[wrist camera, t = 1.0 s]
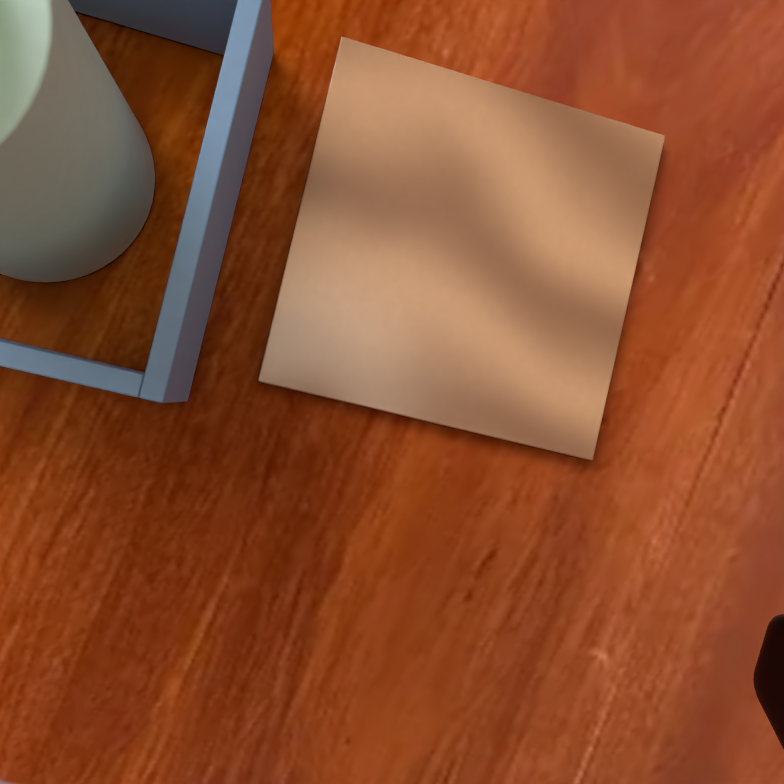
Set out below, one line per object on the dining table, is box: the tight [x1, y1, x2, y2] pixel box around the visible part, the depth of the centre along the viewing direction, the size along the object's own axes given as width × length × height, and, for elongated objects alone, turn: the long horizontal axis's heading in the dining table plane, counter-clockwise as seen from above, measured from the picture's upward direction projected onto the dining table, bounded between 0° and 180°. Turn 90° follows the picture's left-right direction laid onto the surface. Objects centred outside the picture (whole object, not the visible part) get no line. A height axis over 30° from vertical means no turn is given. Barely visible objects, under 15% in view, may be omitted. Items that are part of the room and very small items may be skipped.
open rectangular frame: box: [0, 0, 274, 403], centre depth 19 cm, size 11×11×4 cm
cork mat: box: [258, 37, 665, 460], centre depth 22 cm, size 11×11×1 cm
